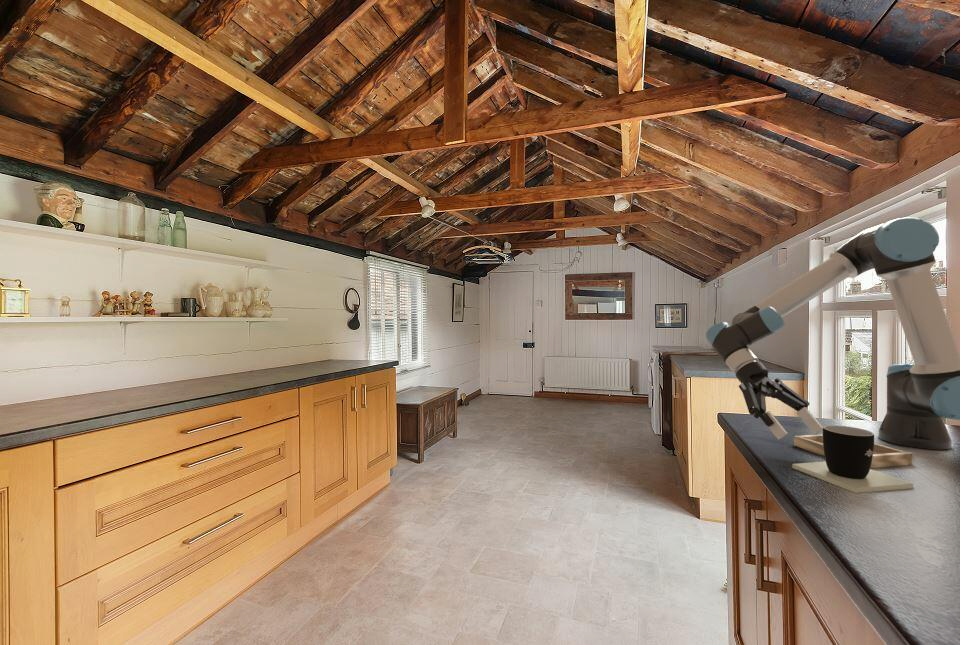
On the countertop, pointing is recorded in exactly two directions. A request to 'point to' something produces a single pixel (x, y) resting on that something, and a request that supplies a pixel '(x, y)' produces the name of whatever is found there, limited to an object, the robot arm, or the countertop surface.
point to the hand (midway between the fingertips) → (801, 434)
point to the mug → (848, 450)
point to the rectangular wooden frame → (881, 453)
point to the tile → (868, 484)
